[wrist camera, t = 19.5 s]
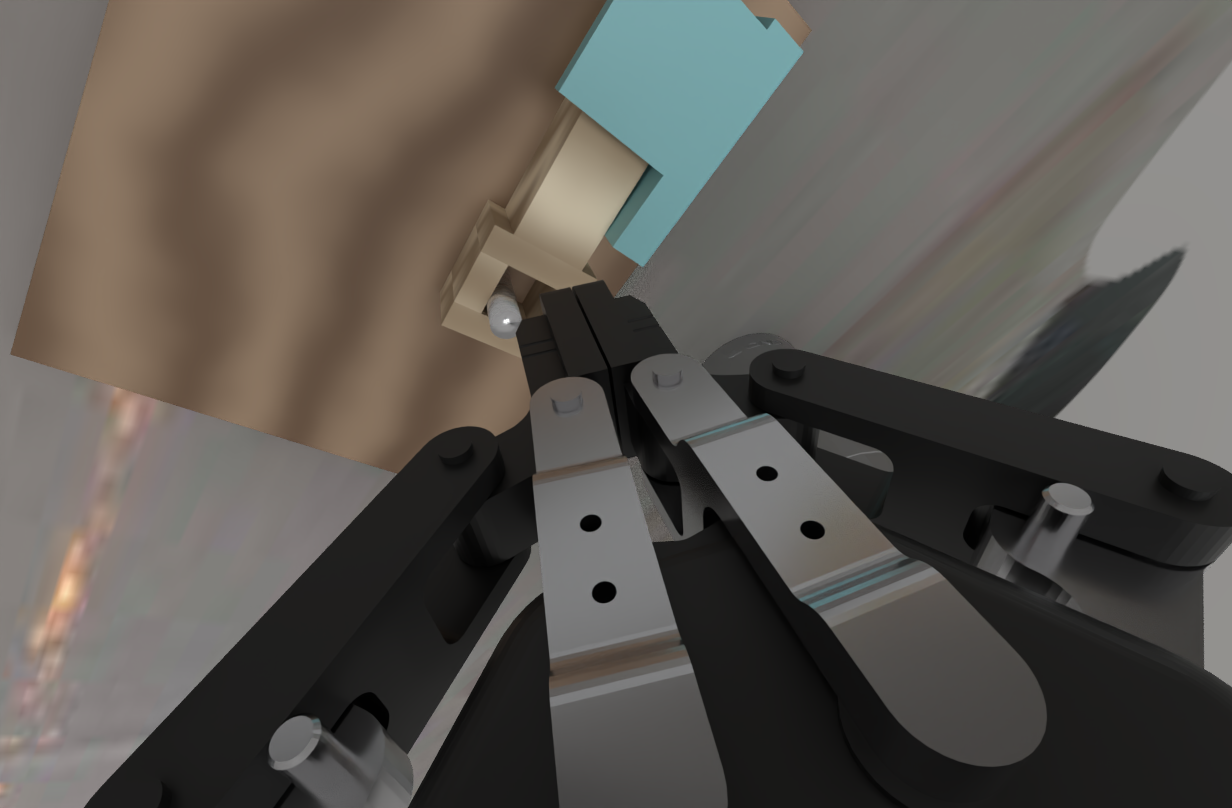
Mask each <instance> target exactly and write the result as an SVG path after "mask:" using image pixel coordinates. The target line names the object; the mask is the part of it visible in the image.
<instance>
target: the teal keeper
mask: <svg viewBox="0 0 1232 808" xmlns="http://www.w3.org/2000/svg"><path fill="white" fill-rule="evenodd" d="M802 53H803V50H802V49H801V48H800V47H799V46H798V45H797V43H796V42H795V41H794V40H793V39H792V38H791V36H790V35H789V34H788V33H787V32H786V30H785V29H784V28H783V27H782V26H781V25H780V23H779V22H778V21H777V20H776V19H775V18H767V17H759V16H754V15H753V13H752V12H751V11H750V10H749V9H748V8H747V7H746V5H745V4H744V3H743V2H742V1H741V0H607V1H606V2H605V4H604V6H603V7H602V9H601V11H600V12H599V14H598V16H597V17H596V19H595V21H594V22H593V24H592V26H591V28H590V29H589V31H588V33H587V34H586V36H585V38H584V39H583V41H582V43H581V44H580V46H579V48H578V49H577V51H576V53H575V54H574V56H573V58H572V59H571V61H570V63H569V64H568V66H567V68H566V69H565V71H564V73H563V75H562V76H561V78H560V80H559V81H558V83H557V85H556V86H555V89H556V90H557V91H559V92H560V93H561V94H562V95H564V96H565V97H566V98H567V99H569V100H570V101H571V102H572V103H574V104H575V105H576V106H577V107H579V108H580V109H581V110H582V111H584V112H585V113H586V114H587V115H589V116H590V117H591V118H592V119H594V120H595V121H596V122H597V123H599V124H600V125H601V126H602V127H604V128H605V129H606V130H607V131H609V132H610V133H611V134H612V135H614V136H615V137H616V138H617V139H618V140H620V141H621V142H622V143H623V144H625V145H626V146H627V147H628V148H630V149H631V150H632V151H633V152H635V153H636V154H637V155H638V156H640V157H641V158H642V159H643V160H645V161H646V162H647V163H648V166H647V168H646V169H645V171H644V172H643V174H642V176H641V177H640V179H639V180H638V182H637V184H636V185H635V187H634V188H633V190H632V192H631V193H630V195H629V196H628V198H627V200H626V201H625V203H624V204H623V206H622V208H621V209H620V211H619V212H618V214H617V216H616V217H615V219H614V220H613V222H612V224H611V225H610V227H609V228H608V230H607V232H606V233H605V237H606V238H607V239H608V241H609V242H610V244H611V245H612V247H613V248H615V249H616V250H618V251H619V252H621V253H622V254H624V255H625V256H627V257H629V258H630V259H632V260H633V261H635V262H636V263H638V264H639V265H641V266H642V267H644V265H645V264H646V263H647V261H648V260H649V259H650V257H651V256H652V255H653V253H654V252H655V251H656V249H657V248H658V247H659V245H660V244H661V242H662V241H663V240H664V238H665V237H666V236H667V234H668V233H669V232H670V230H671V229H672V228H673V226H674V225H675V224H676V222H677V221H678V220H679V218H680V217H681V216H682V214H683V213H684V212H685V210H686V209H687V208H688V206H689V205H690V204H691V202H692V201H693V200H694V198H695V197H696V196H697V194H698V193H699V192H700V190H701V189H702V188H703V186H704V185H705V183H706V182H707V181H708V179H709V178H710V177H711V175H712V174H713V173H714V171H715V170H716V169H717V167H718V166H719V165H720V163H721V162H722V161H723V159H724V158H725V157H726V155H727V154H728V153H729V151H730V150H731V149H732V147H733V146H734V145H735V143H736V142H737V141H738V139H739V138H740V137H741V135H742V134H743V133H744V131H745V130H746V129H747V127H748V126H749V124H750V123H751V122H752V120H753V119H754V118H755V116H756V115H757V114H758V112H759V111H760V110H761V108H762V107H763V106H764V104H765V103H766V102H767V100H768V99H769V98H770V96H771V95H772V94H773V92H774V91H775V90H776V88H777V87H778V86H779V84H780V83H781V82H782V80H783V79H784V78H785V76H786V75H787V74H788V72H789V71H790V70H791V68H792V67H793V65H794V64H795V63H796V61H797V60H798V59H799V57H800V56H801V55H802Z"/></svg>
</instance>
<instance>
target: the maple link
mask: <svg viewBox="0 0 1232 808" xmlns="http://www.w3.org/2000/svg"><path fill="white" fill-rule="evenodd" d="M647 166H648V163H647V162H646V161H645V160H643V159H642V158H641V157H640V156H638V155H637V154H636V153H635V152H633V151H632V150H631V149H630V148H628V147H627V146H626V145H625V144H623V143H622V142H621V141H620V140H618V139H617V138H616V137H615V136H614V135H612V134H611V133H610V132H609V131H607V130H606V129H605V128H604V127H602V126H601V125H600V124H599V123H597V122H596V121H595V120H594V119H592V118H591V117H590V116H589V115H587V114H586V113H585V112H584V111H582V110H581V109H580V108H579V107H577V106H576V105H575V104H574V103H572V102H571V101H570V100H569V99H567V98H566V97H565V98H564V100H563V102H562V104H561V106H560V108H559V109H558V111H557V113H556V115H555V117H554V119H553V121H552V122H551V124H550V126H549V128H548V130H547V132H546V134H545V135H544V137H543V139H542V141H541V143H540V145H539V147H538V149H537V150H536V152H535V154H534V156H533V158H532V160H531V162H530V163H529V165H528V167H527V169H526V171H525V173H524V175H523V176H522V178H521V180H520V182H519V184H518V186H517V188H516V189H515V191H514V193H513V195H512V197H511V199H510V201H509V203H508V204H507V206H506V208H505V209H504V208H502V207H501V206H499V205H497V204H495V203H493V202H492V201H490V200H488V201H487V203H486V205H485V207H484V209H483V211H482V212H481V214H480V216H479V218H478V220H477V222H476V224H475V226H474V228H473V230H472V232H471V234H470V236H469V237H468V239H467V241H466V243H465V245H464V247H463V249H462V251H461V253H460V255H459V257H458V259H457V261H456V262H455V264H454V266H453V268H452V270H451V272H450V274H449V276H448V278H447V280H446V282H445V284H444V286H443V287H442V289H441V291H440V303H441V325H442V326H445V327H447V328H449V329H452V330H454V331H457V332H459V333H461V334H464V335H466V336H469V337H471V338H474V339H476V340H478V341H481V342H483V343H486V344H488V345H491V346H493V347H495V348H498V349H500V350H503V351H505V352H507V353H510V354H512V355H515V356H517V357H520V358H521V353H520V349H519V345H518V341H517V337H516V336H515V337H513V338H511V339H501V338H499V337H497V336H495V335H494V334H493V333H492V331H491V328H490V323H489V317H488V312H487V306H486V304H487V302H488V300H489V299H490V297H491V295H492V293H493V292H494V290H495V288H496V286H497V284H498V283H499V281H500V279H501V277H502V276H503V274H504V272H505V270H506V268H507V267H508V265H509V266H511V267H513V268H515V269H517V270H519V271H521V272H523V273H525V274H527V275H529V276H531V277H533V278H535V279H536V280H535V282H534V284H533V286H532V287H531V289H530V291H529V292H528V294H527V296H526V297H525V299H524V301H523V302H522V303H520V302H518V301H517V304H518V307H519V311H520V315H521V318H522V320H523V319H528V318H532V317H536V316H541V315H543V312H542V308H541V303H540V298H539V294H541V293H545V292H550V291H554V290H559V289H563V288H568V287H570V288H571V290H572V286H576V285H581V284H585V283H590V282H595V281H597V278H596V276H595V275H594V273H593V271H592V269H591V268H590V266H589V264H588V260H589V259H590V257H591V256H592V254H593V252H594V251H595V249H596V248H597V246H598V244H599V243H600V241H601V240H602V238H603V236H604V235H605V233H606V232H607V230H608V228H609V227H610V225H611V224H612V222H613V220H614V219H615V217H616V216H617V214H618V212H619V211H620V209H621V208H622V206H623V204H624V203H625V201H626V200H627V198H628V196H629V195H630V193H631V192H632V190H633V188H634V187H635V185H636V184H637V182H638V180H639V179H640V177H641V176H642V174H643V172H644V171H645V169H646V168H647Z"/></svg>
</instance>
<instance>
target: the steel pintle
mask: <svg viewBox="0 0 1232 808" xmlns="http://www.w3.org/2000/svg"><path fill="white" fill-rule="evenodd" d="M486 306H487V312H488V317H489V323H490V328H491V331H492V333H493V334H494V335H495V336H497V337H499V338H501V339H511V338H513V337H515V336H516V331H517V329H518V327H519V325H520V323H521V321H522V318H521V315H520V311H519V307H518V304H517V300H516V296H515V293H514V289H513V285H512V282H511V278H510V274H509V271H508V269H507V268H506V270H505V272H504V274H503V276H502V277H501V279H500V281H499V283H498V284H497V286H496V288H495V290H494V292H493V293H492V295H491V297H490V299H489V300H488V302H487V304H486Z"/></svg>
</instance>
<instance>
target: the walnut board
mask: <svg viewBox="0 0 1232 808" xmlns="http://www.w3.org/2000/svg"><path fill="white" fill-rule="evenodd" d="M606 1H607V0H109V3H108V6H107V10H106V13H105V17H104V20H103V24H102V28H101V31H100V35H99V38H98V42H97V46H96V49H95V53H94V56H93V60H92V63H91V67H90V71H89V74H88V78H87V81H86V85H85V89H84V92H83V96H82V99H81V103H80V106H79V110H78V114H77V117H76V121H75V124H74V128H73V132H72V135H71V139H70V142H69V146H68V150H67V153H66V157H65V160H64V164H63V167H62V171H61V175H60V178H59V182H58V185H57V189H56V193H55V196H54V200H53V203H52V207H51V210H50V214H49V218H48V221H47V225H46V228H45V232H44V236H43V239H42V243H41V246H40V250H39V253H38V257H37V261H36V264H35V268H34V271H33V275H32V279H31V282H30V286H29V289H28V293H27V296H26V300H25V304H24V307H23V311H22V314H21V318H20V322H19V325H18V329H17V332H16V336H15V339H14V343H13V347H12V350H11V355H14V356H17V357H21V358H24V359H27V360H30V361H34V362H37V363H40V364H43V365H47V366H50V367H53V368H56V369H60V370H63V371H66V372H69V373H73V374H76V375H79V376H82V377H86V378H89V379H92V380H95V381H99V382H102V383H105V384H108V385H112V386H115V387H118V388H121V389H125V390H128V391H131V392H134V393H138V394H141V395H144V396H147V397H151V398H154V399H157V400H160V401H163V402H167V403H170V404H173V405H176V406H180V407H183V408H186V409H189V410H193V411H196V412H199V413H202V414H206V415H209V416H212V417H215V418H219V419H222V420H225V421H228V422H232V423H235V424H238V425H241V426H245V427H248V428H251V429H254V430H258V431H261V432H264V433H267V434H271V435H274V436H277V437H280V438H284V439H287V440H290V441H293V442H297V443H300V444H303V445H306V446H310V447H313V448H316V449H319V450H323V451H326V452H329V453H332V454H336V455H339V456H342V457H345V458H348V459H352V460H355V461H358V462H361V463H365V464H368V465H371V466H374V467H378V468H381V469H384V470H387V471H391V472H394V473H397V474H398V473H399V472H400V471H401V470H402V469H403V468H404V467H405V465H406V464H407V463H408V462H409V461H410V460H411V459H412V458H413V457H414V456H415V455H416V454H417V453H418V452H419V451H420V450H421V449H422V448H423V446H424V445H425V444H427V443H428V442H429V441H430V440H431V439H433V438H434V437H436V436H437V435H439V434H441V433H443V432H445V431H448V430H451V429H454V428H458V427H465V426H476V427H481V428H484V429H487V430H489V431H490V432H491V433H493V434H494V436H497V435H499V434H501V433H503V432H505V431H507V430H509V429H510V428H512V427H514V426H515V425H517V424H518V423H519V422H520V421H521V420H522V419H523V418H524V417H525V416H526V415H527V413H528V411H529V410H530V400H531V394H530V390H529V386H528V382H527V378H526V374H525V370H524V366H523V362H522V358H520V357H517V356H515V355H512V354H510V353H507V352H505V351H503V350H500V349H498V348H495V347H493V346H491V345H488V344H486V343H483V342H481V341H478V340H476V339H474V338H471V337H469V336H466V335H464V334H461V333H459V332H457V331H454V330H452V329H449V328H447V327H445V326H442V325H441V303H440V291H441V289H442V287H443V286H444V284H445V282H446V280H447V278H448V276H449V274H450V272H451V270H452V268H453V266H454V264H455V262H456V261H457V259H458V257H459V255H460V253H461V251H462V249H463V247H464V245H465V243H466V241H467V239H468V237H469V236H470V234H471V232H472V230H473V228H474V226H475V224H476V222H477V220H478V218H479V216H480V214H481V212H482V211H483V209H484V207H485V205H486V203H487V201H488V200H490V201H492V202H493V203H495V204H497V205H499V206H501V207H502V208H504V209H505V208H506V206H507V204H508V203H509V201H510V199H511V197H512V195H513V193H514V191H515V189H516V188H517V186H518V184H519V182H520V180H521V178H522V176H523V175H524V173H525V171H526V169H527V167H528V165H529V163H530V162H531V160H532V158H533V156H534V154H535V152H536V150H537V149H538V147H539V145H540V143H541V141H542V139H543V137H544V135H545V134H546V132H547V130H548V128H549V126H550V124H551V122H552V121H553V119H554V117H555V115H556V113H557V111H558V109H559V108H560V106H561V104H562V102H563V100H564V98H565V96H564V95H562V94H561V93H560V92H559V91H557V90H556V89H555V86H556V85H557V83H558V81H559V80H560V78H561V76H562V75H563V73H564V71H565V69H566V68H567V66H568V64H569V63H570V61H571V59H572V58H573V56H574V54H575V53H576V51H577V49H578V48H579V46H580V44H581V43H582V41H583V39H584V38H585V36H586V34H587V33H588V31H589V29H590V28H591V26H592V24H593V22H594V21H595V19H596V17H597V16H598V14H599V12H600V11H601V9H602V7H603V6H604V4H605V2H606ZM741 1H742V2H743V3H744V4H745V5H746V7H747V8H748V9H749V10H750V11H751V12H752V13H753V15H754V16H759V17H767V18H775V19H776V20H777V21H778V22H779V23H780V25H781V26H782V27H783V28H784V29H785V30H786V32H787V33H788V34H789V35H790V36H791V38H792V39H793V40H794V41H795V42H796V43H797V45H798V46H799V47H800V46H801V44H802V43H803V42H804V40H805V39H806V38H807V36H808V35H809V33H810V32H811V31H812V30H811V29H810V27H809V26H808V25H807V24H806V23H805V21H804V20H803V19H802V18H801V16H800V15H799V14H798V13H797V12H796V10H795V9H794V8H793V7H792V5H791V4H790V3H789V2H788V1H787V0H741ZM588 264H589V266H590V268H591V269H592V271H593V273H594V275H595V276H596V278H597V281H599V280H604V282H605V283H606V285H607V287H608V289H609V290H610V292H611V294H612V295H613V297H615V295H616V294H617V293H618V291H619V290H620V289H621V287H622V286H623V285H624V283H625V282H626V281H627V279H628V278H629V277H630V275H631V274H632V272H633V271H634V270H635V268H636V267H637V266H638V263H636V262H635V261H633V260H632V259H630V258H629V257H627V256H625V255H624V254H622V253H621V252H619V251H618V250H616V249H615V248H613V247H612V245H611V244H610V242H609V241H608V239H607V238H606V237H605V235H604V236H603V238H602V240H601V241H600V243H599V244H598V246H597V248H596V249H595V251H594V252H593V254H592V256H591V257H590V259H589V260H588ZM507 269H508V271H509V274H510V278H511V282H512V285H513V289H514V293H515V296H516V300H517V301H518V302H520V303H522V302H523V301H524V299H525V297H526V296H527V294H528V292H529V291H530V289H531V287H532V286H533V284H534V282H535V280H536V279H535V278H533V277H531V276H529V275H527V274H525V273H523V272H521V271H519V270H517V269H515V268H513V267H511V266H509V265H508V267H507Z"/></svg>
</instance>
